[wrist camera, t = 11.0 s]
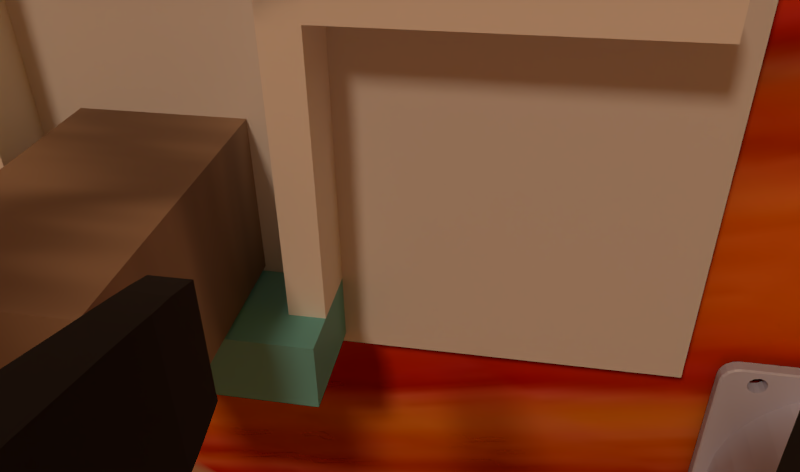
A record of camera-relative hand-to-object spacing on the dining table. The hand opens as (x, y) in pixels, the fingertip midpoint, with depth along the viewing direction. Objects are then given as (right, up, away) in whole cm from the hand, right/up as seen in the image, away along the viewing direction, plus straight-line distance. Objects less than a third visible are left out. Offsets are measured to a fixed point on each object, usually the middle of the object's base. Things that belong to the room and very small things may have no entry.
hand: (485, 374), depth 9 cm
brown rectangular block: (-7, +3, +11) cm, 14 cm away
